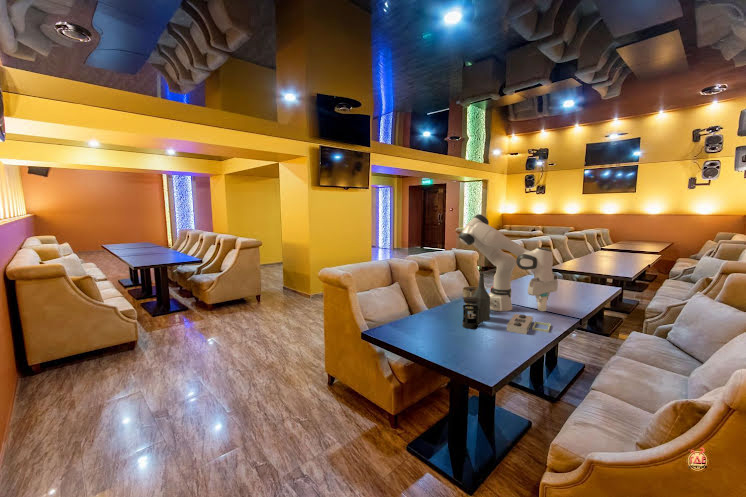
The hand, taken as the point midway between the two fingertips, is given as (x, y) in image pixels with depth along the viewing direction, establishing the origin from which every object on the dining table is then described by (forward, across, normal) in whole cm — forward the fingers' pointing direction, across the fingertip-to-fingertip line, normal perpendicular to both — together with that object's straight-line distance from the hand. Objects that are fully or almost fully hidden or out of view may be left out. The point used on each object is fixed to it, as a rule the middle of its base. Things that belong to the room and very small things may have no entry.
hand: (542, 301), depth 180 cm
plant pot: (+17, -9, +44) cm, 48 cm away
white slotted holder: (+17, -9, +7) cm, 20 cm away
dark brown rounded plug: (+14, -15, +3) cm, 21 cm away
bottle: (+17, -18, +28) cm, 38 cm away
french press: (+17, -30, +24) cm, 42 cm away
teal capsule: (+5, 0, 0) cm, 5 cm away
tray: (+17, 0, 0) cm, 17 cm away
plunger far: (+15, -2, +11) cm, 18 cm away
